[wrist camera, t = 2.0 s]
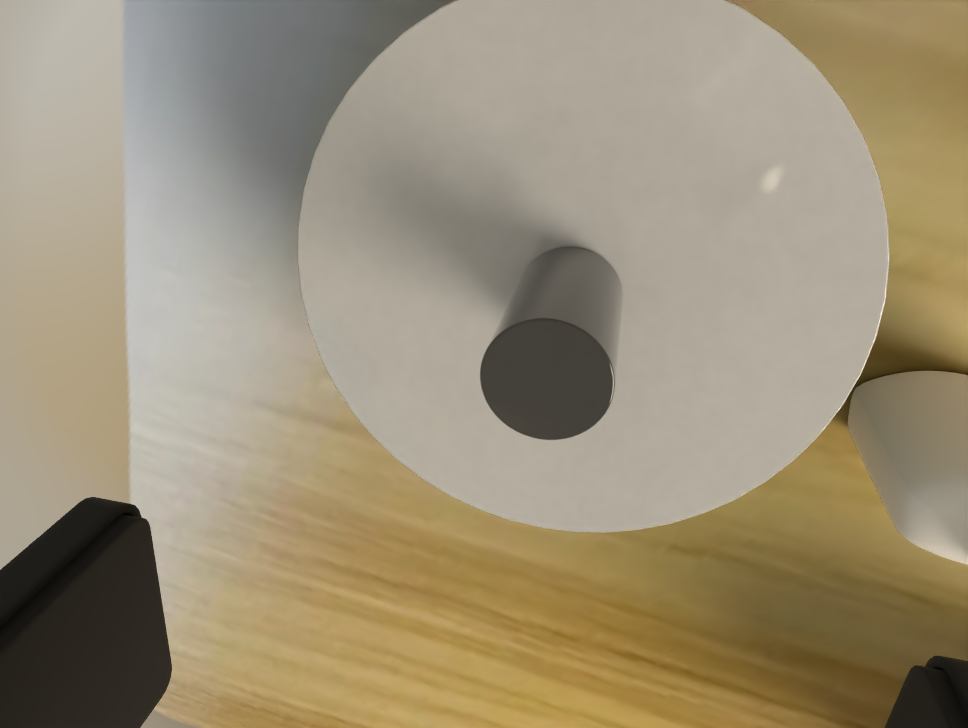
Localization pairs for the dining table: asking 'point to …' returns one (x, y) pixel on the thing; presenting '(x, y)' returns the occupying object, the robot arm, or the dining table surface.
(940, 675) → the robot arm
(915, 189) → the dining table surface
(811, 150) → the lid
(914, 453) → the eye dropper bottle
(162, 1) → the dining table surface
